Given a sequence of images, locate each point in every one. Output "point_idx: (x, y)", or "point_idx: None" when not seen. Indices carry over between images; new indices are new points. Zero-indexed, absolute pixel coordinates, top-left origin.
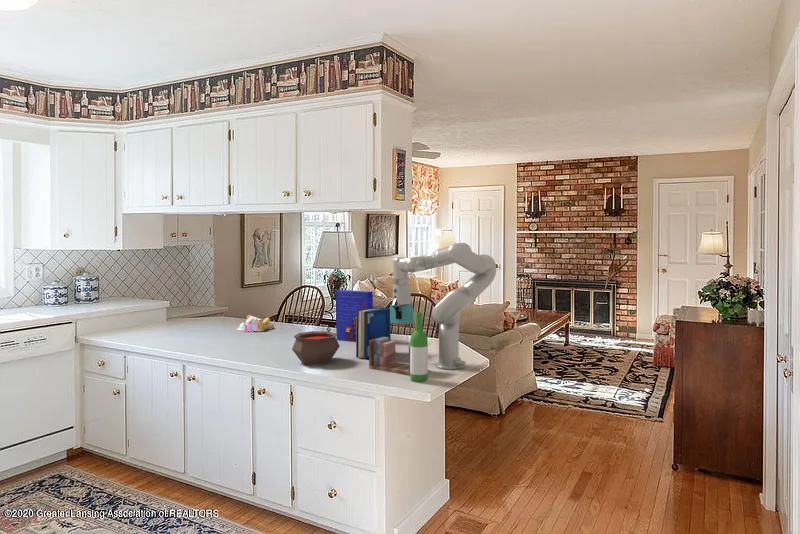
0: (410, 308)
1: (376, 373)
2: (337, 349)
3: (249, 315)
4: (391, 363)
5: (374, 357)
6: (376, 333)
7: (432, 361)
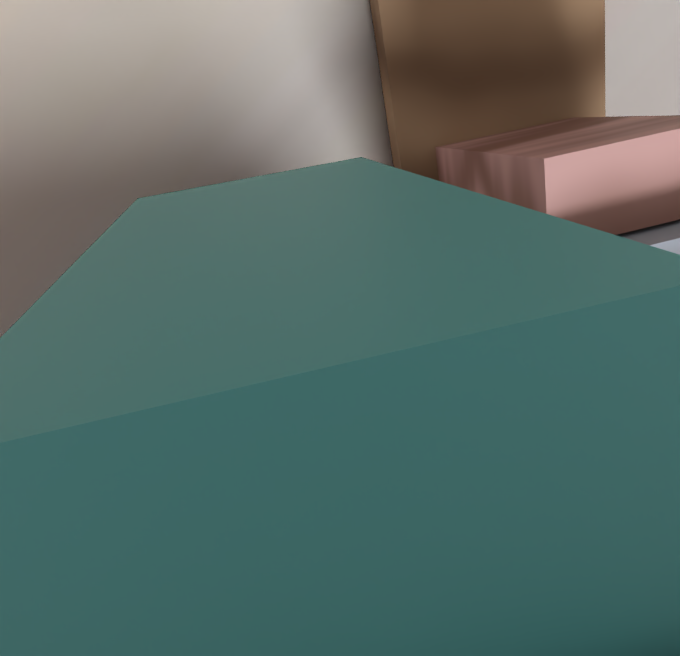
0: (302, 283)
1: (671, 93)
2: None
3: None
4: (500, 134)
5: None
6: None
7: (10, 16)
